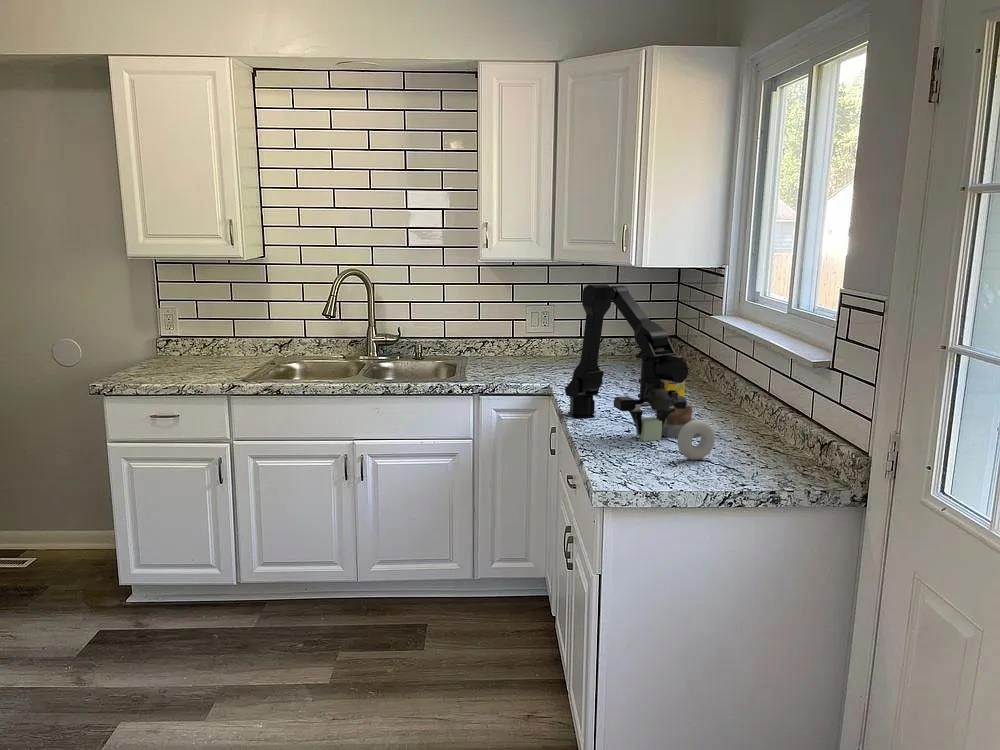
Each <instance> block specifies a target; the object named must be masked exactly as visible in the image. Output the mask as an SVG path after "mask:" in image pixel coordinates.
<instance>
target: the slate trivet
mask: <svg viewBox="0 0 1000 750" xmlns="http://www.w3.org/2000/svg"><path fill="white" fill-rule="evenodd" d="M692 420H696V419H695V418H693V417H692V418H691V421H692ZM684 425H685V424H682V425H674V424H672V423H670V422H668V421H667V418H666V420H665V422H664V425H663V427H662V434H663V436H664V437H666V439H667V438H670V437H671V438H678V435H679V432H680V430H681V429H682V427H683V426H684ZM693 437H701V435H700V434H699V433H697V434H695V435H694V436H693Z"/></svg>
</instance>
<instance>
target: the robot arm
mask: <svg viewBox="0 0 1000 750" xmlns="http://www.w3.org/2000/svg"><path fill="white" fill-rule="evenodd" d="M581 295H582V296H581V297H582V299H581V300H582V303H581V304H582V307H583V310H584V312H585V314H586V315H585V316H586V317H585V323H584V331H583V338H582V347H581V355H580V361H579V363H578V364H577V366H576V367H575V368H574V371H573V374H572V377H571V381H570V382H569V383H568V384H567V386H565V388H564V391H565V392H564V393H565V396H567V397H569V411H567V414H568V415H569V416H570V417H572V418H574V419H580V418H581V419H582V418H583V419H584V418H595V416H596V415H595V406H596V401H595V400H594V396H597V395H599V391H600V388H601V386H602V385H603V378H604V371H603V370H601V369H600V366H599V365H598V364H599V363H598V361H599V355H600V347H601V341H602V331H603V324H604V317H605V315H606V314H607V312H608V311H609V309H610V308H611V305H612V302H613V304H614V306H615V307H616V308H617V309H618V311H619V312H620V314H621V315H622V316H623V318H624V319H625V320H626V322H627V323H628V324H629V326H630V327H631V329H632V330H633V335H634V336H633V337H634V340H635V342H636V345H637V346H638V347H639V349H640V351H639V352H638V353H637V354H636V355H635V358H636V359H640V360H641V363H640V377H639V378H638V383H639V393H638V394H637V398H638V399H637V398H635V399H634V398H632V397H630V396H629V395H627V396H626V395H624V396H616V397H615V398H614V400H613V407H614V408H615V409H617V410H619V411H621V412H629V414H630V416H631V419H632V421H633V424H634V426H635V429H636V432H638V434H639V435H641V430H642V425H641V418H642V416H643V413H644V411H642V409H641V407H651V409H652V410H653V411H656V417H655V418H657V419H659V420H661V421H662V427H663V425H664V422H665V420H666V418H667V417H668V415H669V414H670V413H671V412H675V409H673V406H674V407H675V408H676V409H685V408H687V404H688V401H687V399H686V397H685V396H684V397H682V396H680V395H678V392H677V391H676V390H669V391H665V384H664V382H663V381H662V379H663V380H667V381H671V382H676V383H682V382H683V381H684V380H685V381H686V379H687V377H688V375H689V368H688V365H687V363H686V362H685V361H684V356H683V355H677V353H676V351H675V348H674V347H673V345H672V342H671V340H670V339H669V337H670V336H669V334H668V332H666V330H665V329H664V328H663V327H662V326H661V325H659V324H658V323H656V322H654V321H652V320H651V319H650V318H649V317H648V316H647V315H646V313H645V311H643V310H642V308H641V307H640V305H639V304H638V303H637V302H636V300H635V298H634V297H633V296H632V295H631V294H630V292H629V289H628V287H627V286H625V285H611V286H610V285H609V284H607V283H603V284H602V283H599V284H587V285H586V286H585V287H584V288H583V289H582V294H581Z"/></svg>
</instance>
